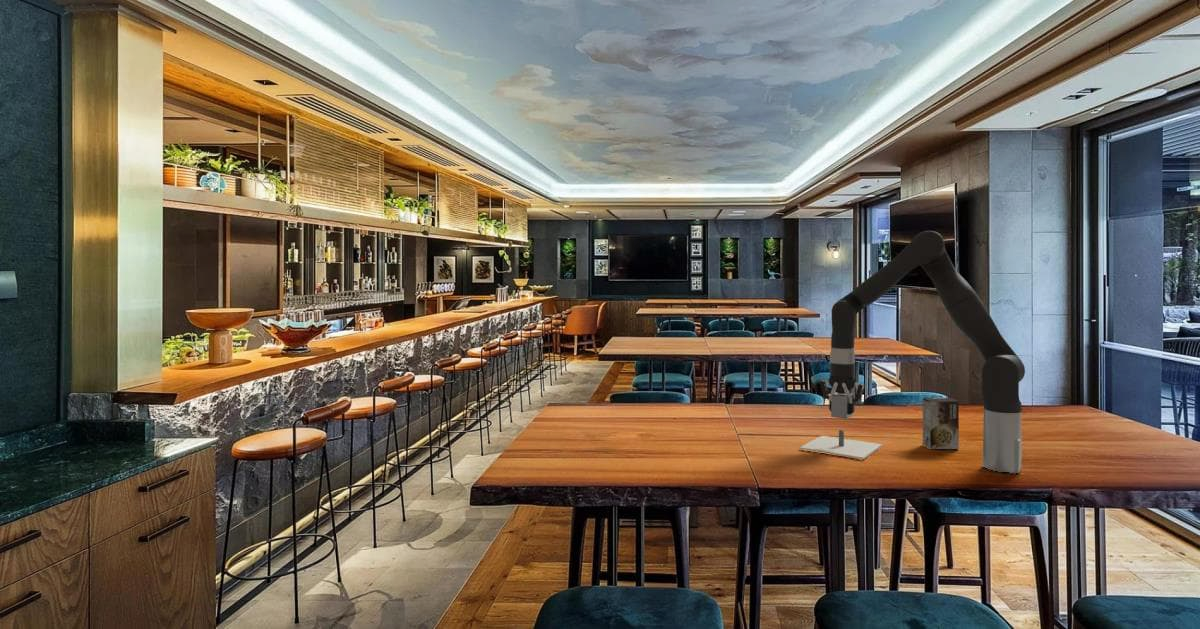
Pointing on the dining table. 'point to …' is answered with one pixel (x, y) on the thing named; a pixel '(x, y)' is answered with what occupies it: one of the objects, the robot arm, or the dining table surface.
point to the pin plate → (842, 446)
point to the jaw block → (840, 406)
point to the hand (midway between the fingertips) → (841, 413)
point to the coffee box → (941, 423)
